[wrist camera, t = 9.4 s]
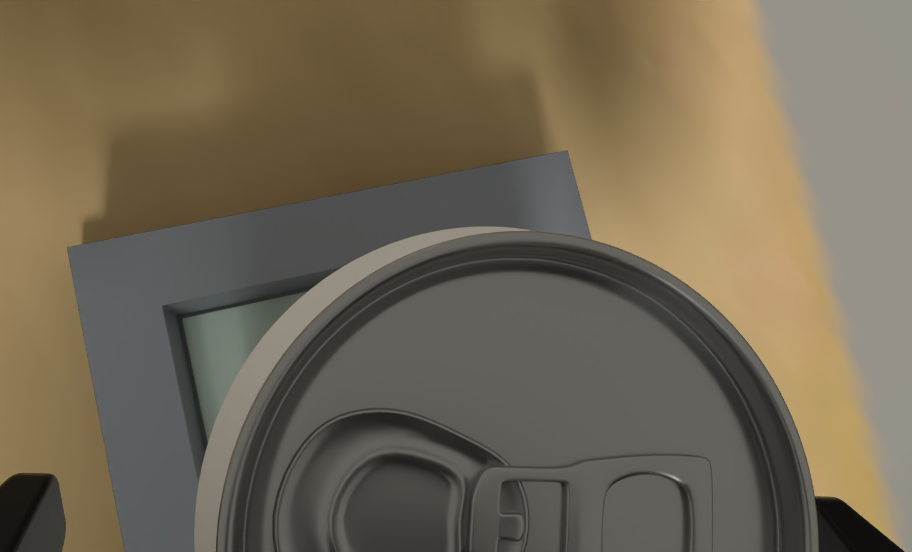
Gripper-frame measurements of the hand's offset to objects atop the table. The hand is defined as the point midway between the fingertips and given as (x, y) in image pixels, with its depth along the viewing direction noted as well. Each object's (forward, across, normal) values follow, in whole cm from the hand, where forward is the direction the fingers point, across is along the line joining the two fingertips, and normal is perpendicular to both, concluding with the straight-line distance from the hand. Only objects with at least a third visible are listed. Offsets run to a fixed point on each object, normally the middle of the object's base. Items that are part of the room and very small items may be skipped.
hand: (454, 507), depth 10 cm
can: (+7, 0, +7) cm, 10 cm away
